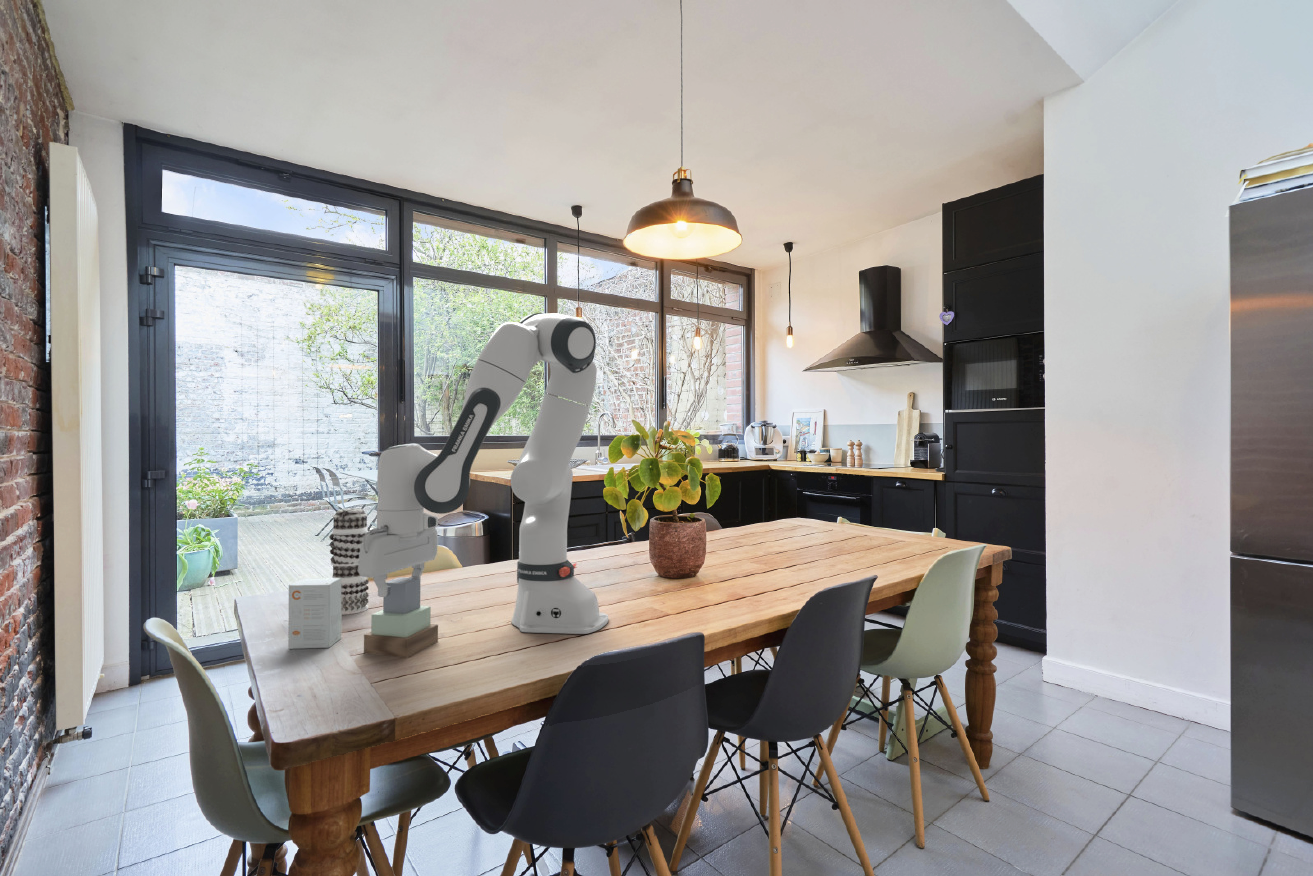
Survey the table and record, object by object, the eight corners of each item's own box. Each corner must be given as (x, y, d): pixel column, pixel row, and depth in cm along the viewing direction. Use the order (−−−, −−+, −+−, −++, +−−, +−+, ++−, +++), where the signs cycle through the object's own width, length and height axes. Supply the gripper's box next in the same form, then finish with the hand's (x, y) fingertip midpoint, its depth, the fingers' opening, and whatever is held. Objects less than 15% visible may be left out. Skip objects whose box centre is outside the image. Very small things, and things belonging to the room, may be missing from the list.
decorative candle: (331, 617, 147) (332, 512, 147) (325, 608, 154) (326, 508, 155) (373, 611, 152) (374, 509, 152) (365, 603, 160) (366, 506, 160)
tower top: (430, 625, 129) (430, 606, 129) (406, 637, 121) (406, 617, 121) (396, 623, 131) (397, 604, 131) (371, 634, 123) (371, 614, 123)
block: (420, 607, 128) (420, 578, 128) (404, 614, 123) (405, 584, 124) (399, 605, 130) (399, 577, 130) (383, 612, 125) (383, 582, 125)
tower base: (437, 643, 130) (438, 624, 130) (407, 659, 120) (407, 639, 120) (397, 639, 133) (397, 620, 133) (363, 654, 123) (364, 634, 123)
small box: (342, 638, 132) (342, 577, 132) (329, 648, 125) (329, 584, 125) (302, 639, 131) (302, 578, 131) (287, 649, 125) (287, 585, 125)
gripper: (378, 530, 116) (377, 604, 115) (443, 517, 135) (442, 580, 135) (349, 529, 117) (349, 602, 117) (418, 516, 137) (417, 578, 137)
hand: (399, 590), depth 126 cm, fingers open, 8 cm apart
